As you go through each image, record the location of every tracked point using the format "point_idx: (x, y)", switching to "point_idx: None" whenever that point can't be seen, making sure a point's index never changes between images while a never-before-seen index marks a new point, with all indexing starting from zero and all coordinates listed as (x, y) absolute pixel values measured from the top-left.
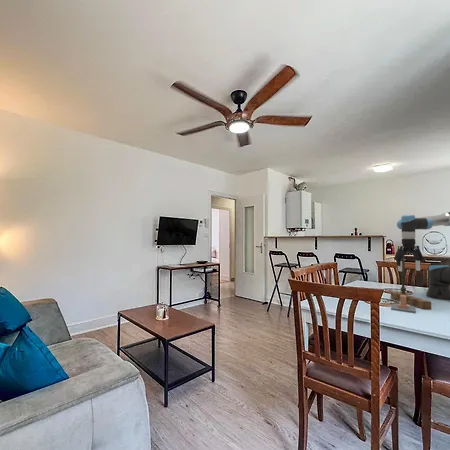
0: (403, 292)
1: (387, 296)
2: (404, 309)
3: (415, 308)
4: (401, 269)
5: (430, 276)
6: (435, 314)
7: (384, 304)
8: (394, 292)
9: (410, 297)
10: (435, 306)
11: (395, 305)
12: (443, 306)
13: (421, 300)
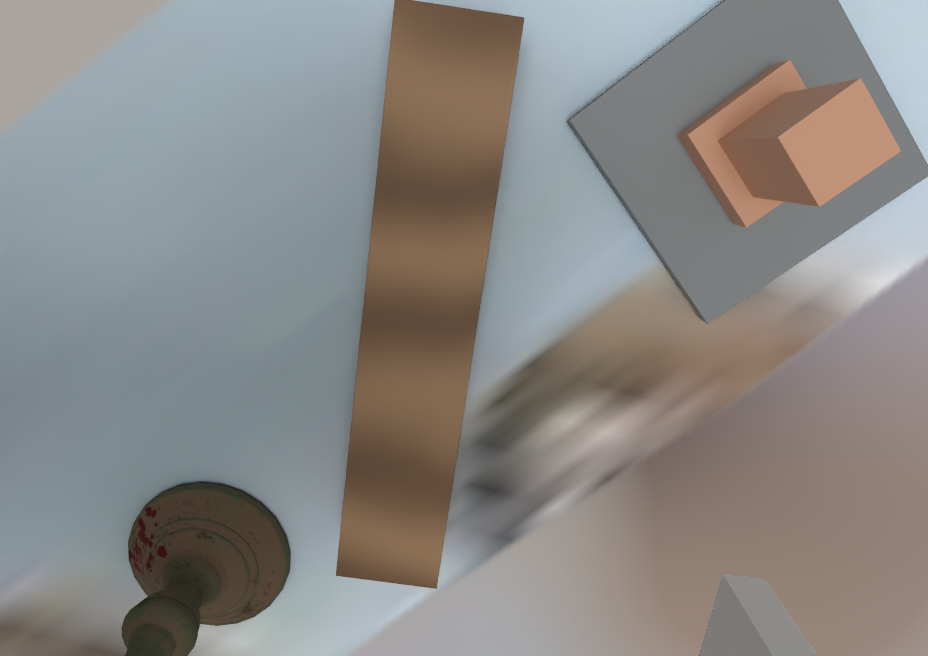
0: (195, 583)
1: (372, 627)
2: (838, 67)
3: (651, 58)
4: (780, 629)
5: None
6: None
7: (754, 376)
8: (396, 568)
9: (452, 292)
10: (215, 113)
11: (755, 249)
12: (108, 79)
13: (470, 104)
